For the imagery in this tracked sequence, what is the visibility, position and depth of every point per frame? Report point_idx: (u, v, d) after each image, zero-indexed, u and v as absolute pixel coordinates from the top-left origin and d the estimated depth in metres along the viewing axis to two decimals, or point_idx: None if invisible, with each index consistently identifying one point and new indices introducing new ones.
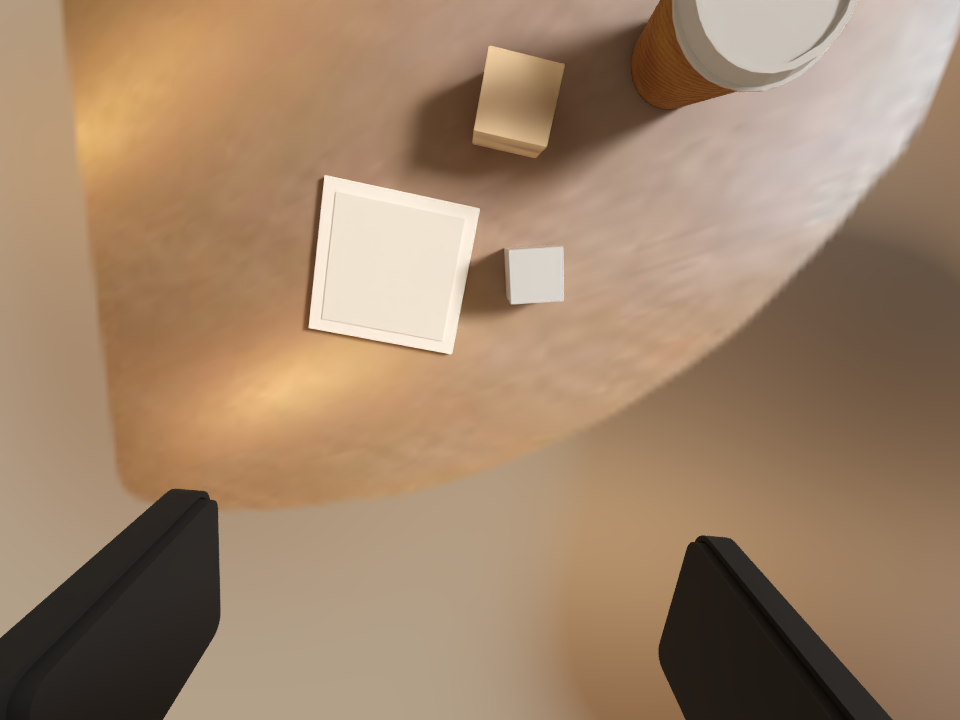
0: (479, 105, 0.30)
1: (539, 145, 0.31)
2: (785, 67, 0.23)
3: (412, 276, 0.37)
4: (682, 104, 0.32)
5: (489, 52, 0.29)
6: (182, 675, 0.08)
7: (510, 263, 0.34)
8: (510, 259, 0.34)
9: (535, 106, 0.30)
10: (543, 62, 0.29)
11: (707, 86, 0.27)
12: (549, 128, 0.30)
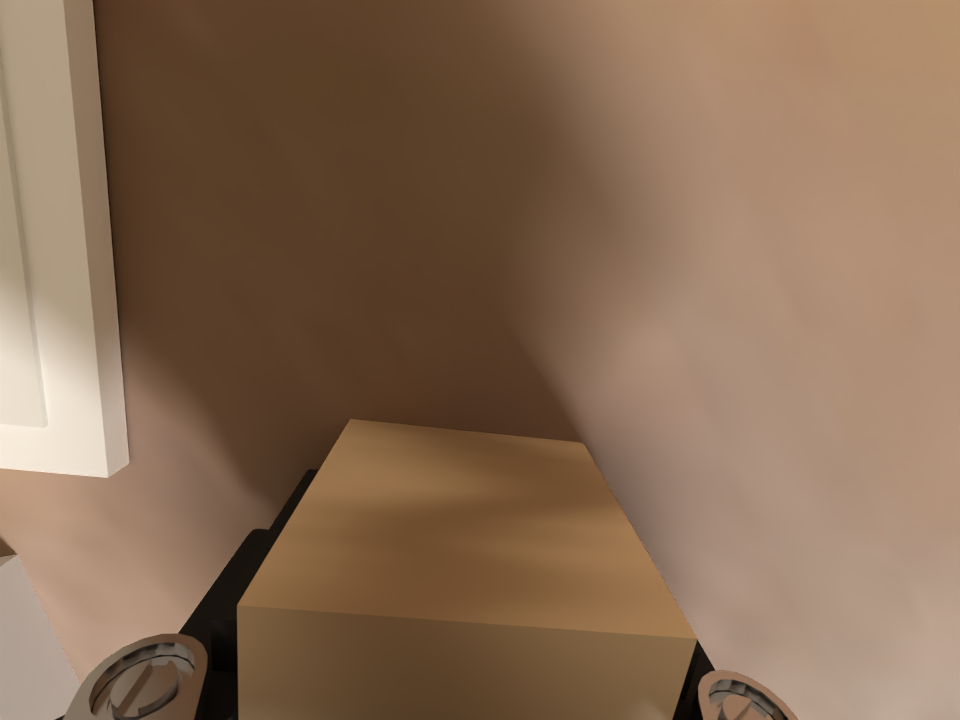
0: (383, 621, 0.05)
1: None
2: None
3: None
4: None
5: (661, 641, 0.05)
6: None
7: None
8: None
9: None
10: None
11: None
12: None
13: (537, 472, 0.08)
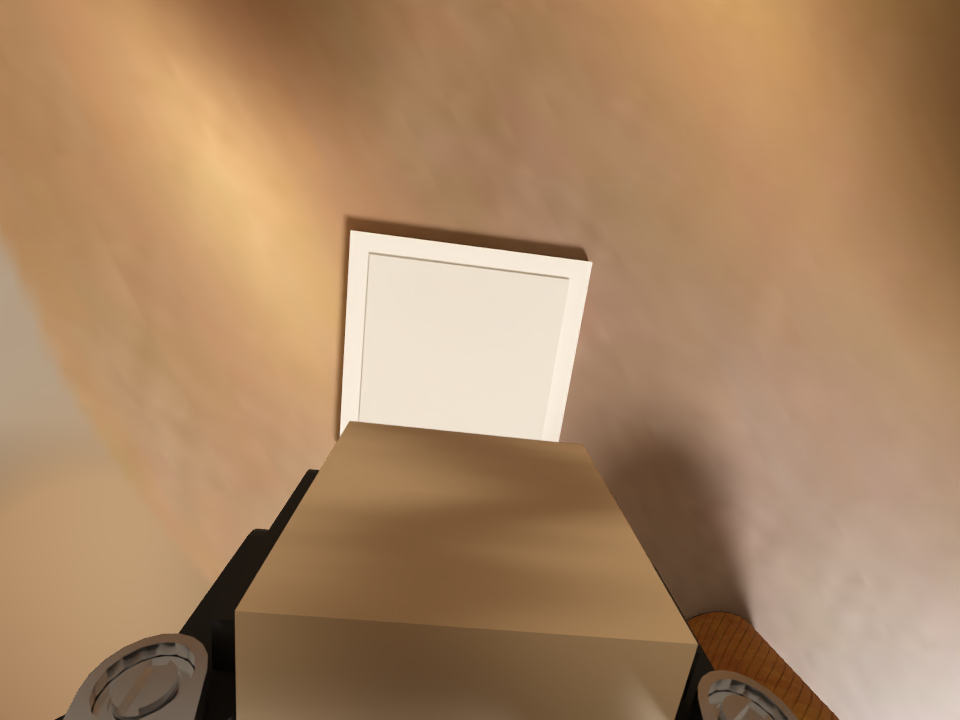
0: (382, 626, 0.05)
1: None
2: None
3: (451, 392, 0.24)
4: None
5: (662, 646, 0.05)
6: None
7: None
8: None
9: None
10: None
11: None
12: None
13: (537, 475, 0.08)
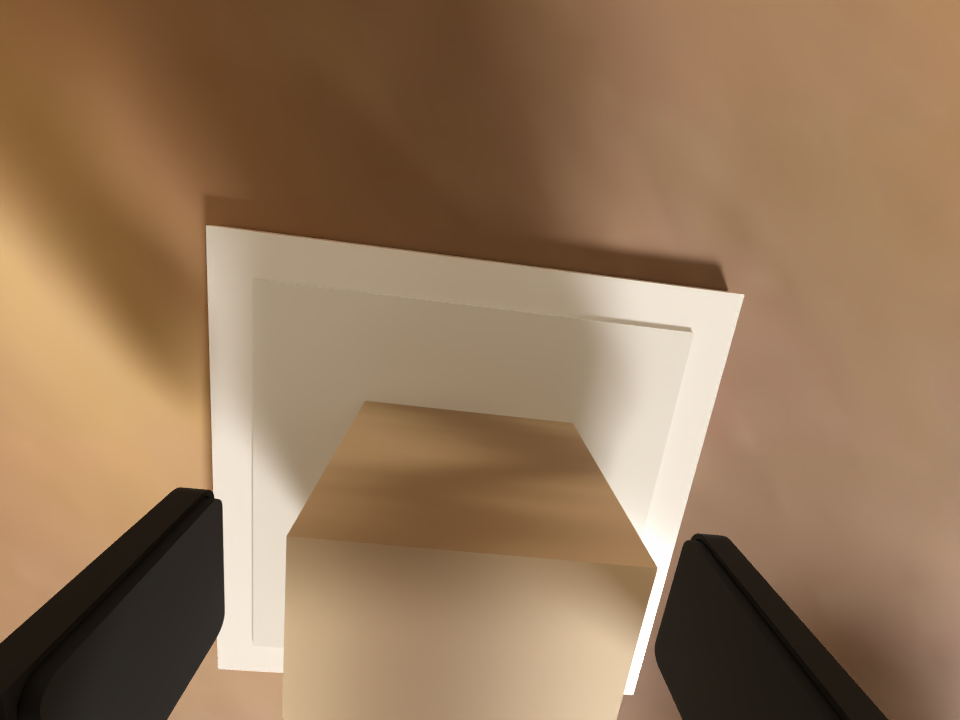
0: (403, 550, 0.06)
1: None
2: None
3: None
4: None
5: (629, 570, 0.06)
6: (188, 673, 0.08)
7: None
8: None
9: None
10: None
11: None
12: None
13: (531, 446, 0.10)
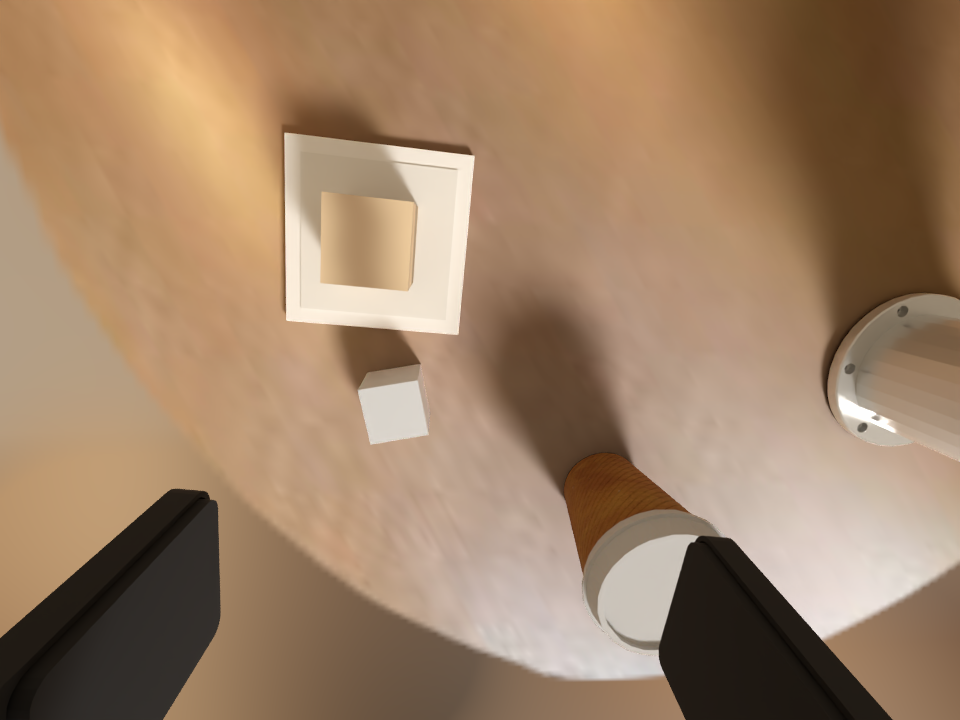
0: (349, 196, 0.25)
1: (321, 274, 0.26)
2: (602, 620, 0.27)
3: None
4: (568, 509, 0.35)
5: (406, 203, 0.25)
6: (182, 675, 0.08)
7: (403, 383, 0.30)
8: (407, 383, 0.30)
9: (360, 263, 0.26)
10: (405, 267, 0.26)
11: (584, 547, 0.29)
12: (340, 283, 0.26)
13: None
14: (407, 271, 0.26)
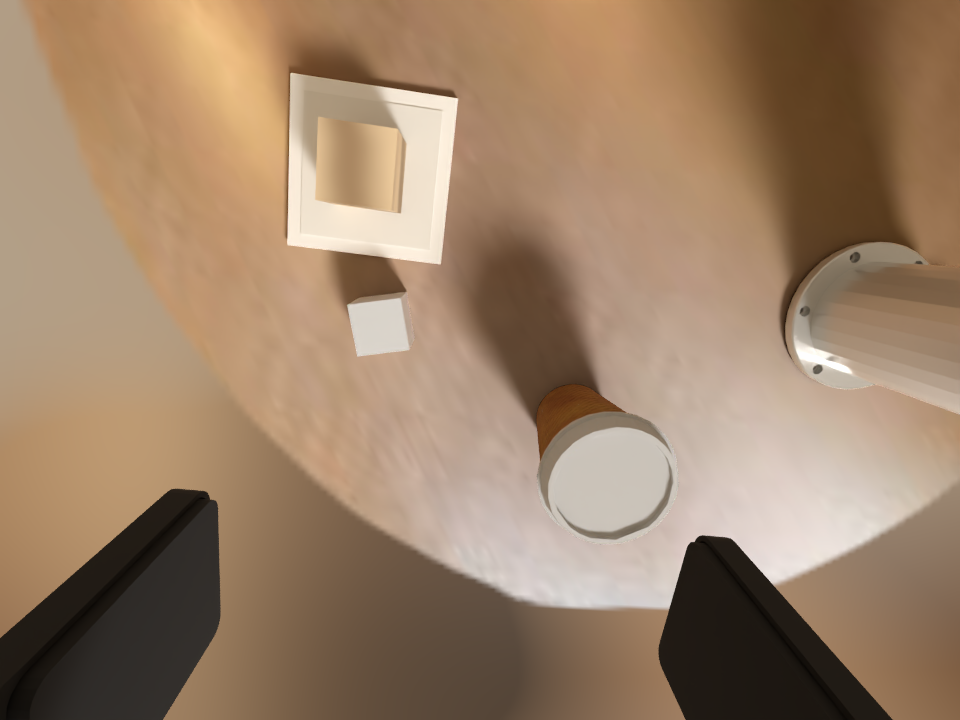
0: (342, 121, 0.29)
1: (316, 192, 0.30)
2: (552, 506, 0.30)
3: None
4: None
5: (391, 129, 0.29)
6: (182, 675, 0.08)
7: (387, 300, 0.34)
8: (391, 300, 0.34)
9: (350, 183, 0.30)
10: (389, 187, 0.30)
11: (543, 450, 0.32)
12: (332, 200, 0.30)
13: None
14: (391, 191, 0.30)
